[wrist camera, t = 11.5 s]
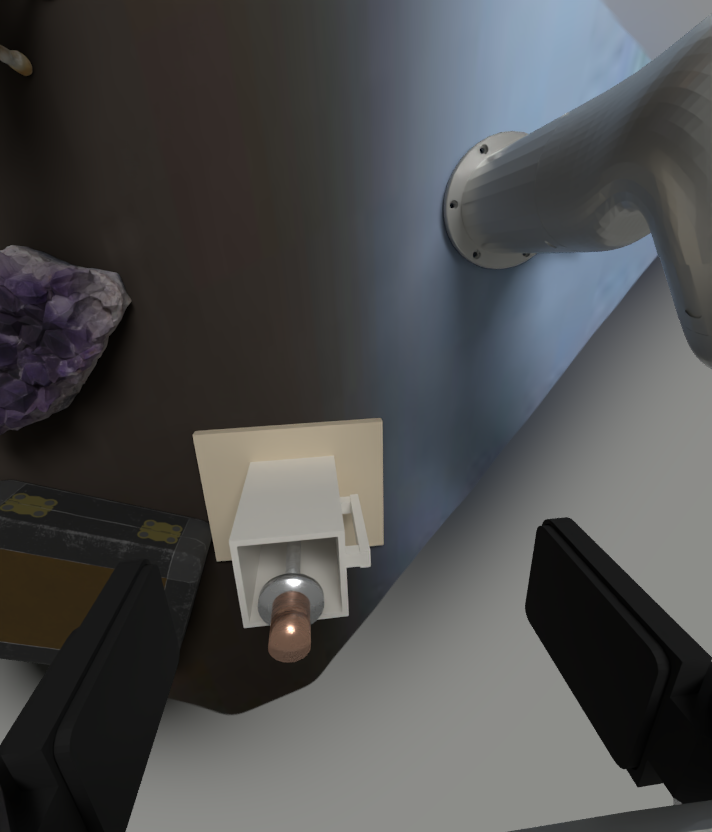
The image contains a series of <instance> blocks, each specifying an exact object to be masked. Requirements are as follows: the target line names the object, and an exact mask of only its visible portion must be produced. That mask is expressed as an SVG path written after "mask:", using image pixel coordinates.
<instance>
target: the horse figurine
mask: <svg viewBox="0 0 712 832" xmlns="http://www.w3.org/2000/svg"><path fill="white" fill-rule="evenodd" d="M0 60H1V61H2V62H4V63H6V64H9V66H10V67H11V68H12V69H14V70H15V71H17V72H18V73H20V74H22V75H24V76H28V75H31V74H32V72H33V71H32V65H31V63H30V61H29V60H28V59H27V57H26V56H25V55H23V54H22V53H20V52H18V51H17V50H8V49H7V48H5V47H4V46H2V45H1V44H0Z"/></svg>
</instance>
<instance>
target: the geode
mask: <svg viewBox="0 0 712 832" xmlns="http://www.w3.org/2000/svg"><path fill="white" fill-rule="evenodd" d="M130 303H131V299H130V297H129V295H128V294H127V292H126V290H125V287H124V284H123V282H122V279H121V277H120V275H119V274H118V273H115V272H110V271H105V270H100V269H95V268H84V267H80V266H76V265H72V264H69V263H67V262H65V261H63V260H60V259H58V258H56V257H54V256H52V255H50V254H47V253H45V252H42V251H38V250H34V249H32V248H30V247H27V246H15V245H11V246H8V247H6V248H5V250H0V435H2V434H3V433H5V432H6V431H8V430H17V431H18V430H19V429H20V428H22V427H24V426H26V425H29V424H32V423H34V422H37V421H41V420H44V419H46V418H49V417H50V416H51V415H52V414H53V413H56V412H59V411H61V410H63V409H65V408H67V407H69V405H70V404H71V403H72V401H73V400H74V398H75V397H76V395H77V394H78V393H79V392H80V390H81V387H82V385H83V384H85V381H86V380H87V378H88V376H89V375H90V373H91V372H92V370H93V369H94V367H95V366H96V364H97V360H98V359H99V358H100V357H101V355H102V353H103V351H104V350H105V349H106V347H107V344H108V338H109V335H111V334H112V333H113V332H114V331H115V329H116V327H117V326H118V324H119V322H120V321H121V320H122V317H123V314H124V312H125V310H126V308H127V307H128V305H129V304H130Z"/></svg>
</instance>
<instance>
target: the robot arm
mask: <svg viewBox="0 0 712 832" xmlns="http://www.w3.org/2000/svg"><path fill="white" fill-rule="evenodd" d="M480 149H482V151H483V153H482V154H481V153H480ZM450 203H452V204H453V208H450ZM443 211H444V222H445V226H446V230H447V233H448V236H449V238H450V240H451V242H452V244H453V245H454V247H455V248H456V249H457V251H458V252H459V253H460V254H461V255H462V256H463V257H464V258H465V259H467V260H468V261H470V262H471V263H473V264H475V265H477V266H481V267H484V268H490V269H506V268H510V267H514V266H517V265H519V264H521V263H524V262H526V261H527V260H529V259H530V258H532V257H533V256H534V255H536V254H537V253H571V252H602V251H609V250H614V249H618V248H621V247H624V246H627V245H630V244H632V243H634V242H636V241H638V240H640V239H641V238H643V237H645V236H646V235H648V234H650V233H651V234H652V237H653V241H654V244H655V247H656V250H657V254H658V256H659V257H660V259H661V262H662V265H663V269H664V272H665V275H666V278H667V282H668V285H669V288H670V292H671V295H672V298H673V301H674V305H675V308H676V311H677V314H678V318H679V320H680V323H681V326H682V329H683V332H684V335H685V337H686V340H687V342H688V344H689V346H690V348H691V350H692V351H693V353H694V354H695V355H696V357H697V358H698V359H699V360H700V361H701V362H703V363H704V364H705V365H706V366H707V367H709V368H711V369H712V13H711V14H710V15H709V16H708V17H706V18H705V19H704V20H703V21H701V23H699V24H698V25H696V26H695V27H694V28H693V29H692V30H691V31H689V32H688V33H687V34H686V35H684V36H683V37H682V38H680V39H679V40H678V41H677V42H676V43H674V44H673V45H672V46H671V47H669V48H668V49H667V50H666V51H664V52H663V53H662V54H661V55H659V56H658V57H657V58H655V59H654V60H653V61H651V62H650V63H648V64H647V65H646V66H644V67H643V68H642V69H640V70H639V71H637V72H636V73H635V74H633V75H631V76H630V77H628V78H627V79H625V80H623V81H622V82H620V83H619V84H617V85H615V86H614V87H612V88H611V89H609V90H607V91H606V92H604V93H602V94H600V95H598V96H597V97H595V98H593V99H591V100H590V101H588V102H586V103H584V104H582V105H581V106H579V107H577V108H575V109H573V110H572V111H570V112H568V113H566V114H564V115H563V116H561V117H559V118H557V119H555V120H553V121H552V122H550V123H548V124H546V125H544V126H543V127H541V128H539V129H537V130H535V131H533V132H532V133H530V134H527V133H525V132H517V131H508V132H500V133H497V134H495V135H492V136H489V137H487V138H485V139H484V140H482V141H480V142H479V143H477V144H476V145H475V146H473V147H472V148H471V149H470V150H469V151H468V152H467V153H466V154H465V155H464V156H463V157H462V158H461V159H460V161H459V162H458V164H457V165H456V167H455V169H454V170H453V172H452V174H451V177H450V179H449V181H448V184H447V188H446V192H445V196H444V208H443ZM474 252H475V254H476V255H475V257H473V253H474ZM523 253H524V255H523ZM525 610H526V615H527V618H528V620H529V622H530V624H531V626H532V627H533V629H534V630H535V632H536V634H537V635H538V637H539V638H540V640H541V642H542V643H543V645H544V647H545V648H546V650H547V652H548V653H549V655H550V657H551V658H552V660H553V661H554V663H555V665H556V666H557V668H558V670H559V671H560V673H561V674H562V676H563V678H564V679H565V681H566V683H567V684H568V686H569V688H570V689H571V691H572V693H573V694H574V696H575V697H576V699H577V701H578V702H579V704H580V706H581V707H582V709H583V711H584V712H585V714H586V715H587V717H588V719H589V720H590V722H591V723H592V725H593V727H594V729H595V730H596V732H597V733H598V735H599V737H600V738H601V740H602V742H603V743H604V745H605V746H606V748H607V750H608V751H609V753H610V755H611V756H612V758H613V759H614V761H615V762H616V764H617V765H619V767H620V768H622V769H627V771H628V772H629V774H630V776H631V777H632V779H633V781H634V782H635V784H636V785H637V787H643V786H648V785H654V784H661V783H664V785H665V786H666V788H667V789H668V790H669V792H670V793H671V795H672V796H673V798H674V805H673V806H666V807H659V808H652V809H645V810H638V811H631V812H624V813H618V814H612V815H606V816H600V817H594V818H588V819H582V820H576V821H570V822H564V823H558V824H552V825H546V826H540V827H534V828H528V829H521V830H515V831H510V832H712V662H711V660H712V657H711V656H710V655H709V654H708V653H707V652H706V651H705V650H704V649H703V648H702V647H701V646H700V645H699V644H698V643H697V642H696V641H695V640H694V639H693V638H692V637H691V636H690V635H689V634H687V632H685V631H684V630H683V629H682V628H681V627H680V626H679V625H678V624H677V623H676V622H675V621H674V620H673V619H672V618H671V617H670V616H669V615H668V614H667V613H666V612H665V611H664V610H663V609H662V608H661V607H660V606H659V605H658V604H657V603H656V602H655V601H654V600H653V599H652V598H651V597H650V596H649V595H648V594H647V593H646V592H645V591H644V590H643V589H642V588H641V587H640V586H639V585H638V584H637V583H636V582H635V581H634V580H633V579H632V578H631V577H630V576H629V575H628V574H627V573H626V572H625V571H624V570H623V569H622V568H621V567H620V566H619V565H618V564H617V563H616V562H615V561H614V560H613V559H612V558H611V557H610V556H609V555H608V554H607V553H605V552H604V551H603V550H602V549H601V548H600V547H599V546H598V545H597V544H596V543H595V542H594V541H593V540H592V539H591V538H590V537H589V536H588V535H587V534H586V533H585V532H584V531H583V530H582V529H581V528H580V527H579V526H578V525H577V524H576V523H575V522H574V521H573V520H572V519H570V518H567V517H566V518H557V519H547V520H545V521H544V522H543V524H542V526H539V527H538V528H537V532H536V539H535V544H534V551H533V558H532V564H531V571H530V577H529V584H528V590H527V597H526V603H525ZM179 653H180V652H179V644H178V640H177V637H176V633H175V629H174V625H173V621H172V617H171V613H170V609H169V606H168V602H167V598H166V594H165V590H164V586H163V582H162V578H161V574H160V571H159V568H158V566H157V565H155V564H154V565H151V563H150V561H149V560H148V559H140V560H130V561H122V562H120V563H119V564H118V565H117V566H116V568H115V569H114V571H113V573H112V574H111V576H110V578H109V579H108V581H107V583H106V584H105V586H104V587H103V589H102V591H101V592H100V594H99V596H98V597H97V599H96V601H95V602H94V604H93V605H92V607H91V609H90V610H89V612H88V614H87V615H86V617H85V618H84V620H83V622H82V623H81V625H80V627H78V628H76V629H75V630H73V631H72V633H71V634H70V635H69V636H68V638H67V639H66V641H65V642H64V644H63V646H62V647H61V649H60V650H59V652H58V654H57V655H56V657H55V658H54V660H53V662H52V663H51V665H50V666H49V668H48V670H47V671H46V673H45V675H44V676H43V678H42V679H41V681H40V682H39V684H38V686H37V687H36V689H35V690H34V692H33V694H32V695H31V697H30V698H29V700H28V702H27V703H26V705H25V707H24V708H23V710H22V711H21V713H20V714H19V716H18V718H17V719H16V721H15V722H14V724H13V725H12V727H11V729H10V730H9V732H8V733H7V735H6V737H5V738H4V740H3V741H2V743H1V745H0V832H125V831H126V828H127V825H128V822H129V819H130V816H131V812H132V809H133V806H134V803H135V800H136V796H137V793H138V790H139V787H140V784H141V781H142V777H143V774H144V771H145V768H146V765H147V761H148V758H149V755H150V752H151V749H152V746H153V742H154V739H155V736H156V733H157V730H158V726H159V723H160V720H161V717H162V714H163V710H164V707H165V704H166V701H167V698H168V695H169V691H170V688H171V685H172V682H173V679H174V675H175V672H176V669H177V666H178V662H179Z"/></svg>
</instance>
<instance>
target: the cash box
mask: <svg viewBox="0 0 712 832" xmlns="http://www.w3.org/2000/svg"><path fill="white" fill-rule="evenodd" d="M211 539H212V534H211V529H210V524H209V523H207V522H205V521H204V520H200V519H196V518H191V517H187V516H182V515H177V514H172V513H168V512H163V511H158V510H154V509H149V508H144V507H139V506H135V505H130V504H125V503H121V502H116V501H111V500H106V499H102V498H97V497H92V496H87V495H83V494H78V493H73V492H69V491H64V490H59V489H54V488H50V487H45V486H40V485H36V484H31V483H26V482H21V481H16V480H4V481H0V658H1V659H9V660H17V661H24V662H32V663H40V664H48V665H51V663H52V662H53V660H54V658H55V657H56V655H57V654H58V652H59V650H60V649H61V647H62V646H63V644H64V642H65V641H66V639H67V638H68V636H69V635H70V634H71V633H72V631H73V630H75V629H76V628H78V627H80V625H81V623H82V622H83V620H84V618H85V617H86V615H87V614H88V612H89V610H90V609H91V607H92V605H93V604H94V602H95V601H96V599H97V597H98V596H99V594H100V592H101V591H102V589H103V587H104V586H105V584H106V583H107V581H108V579H109V578H110V576H111V574H112V573H113V571H114V569H115V568H116V566H117V565H118V564H119V563H120V562H122V561H130V560H140V559H148V560H149V561H150V563H151V565H154V564H155V565H157V566H158V568H159V571H160V574H161V578H162V582H163V586H164V590H165V594H166V598H167V602H168V606H169V609H170V613H171V617H172V621H173V625H174V629H175V633H176V637H177V640H178V644H179V651H180V648H181V645H182V641H183V638H184V635H185V632H186V629H187V625H188V622H189V618H190V615H191V611H192V608H193V604H194V600H195V597H196V593H197V590H198V586H199V582H200V579H201V575H202V572H203V568H204V564H205V561H206V557H207V554H208V550H209V546H210V543H211Z"/></svg>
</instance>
